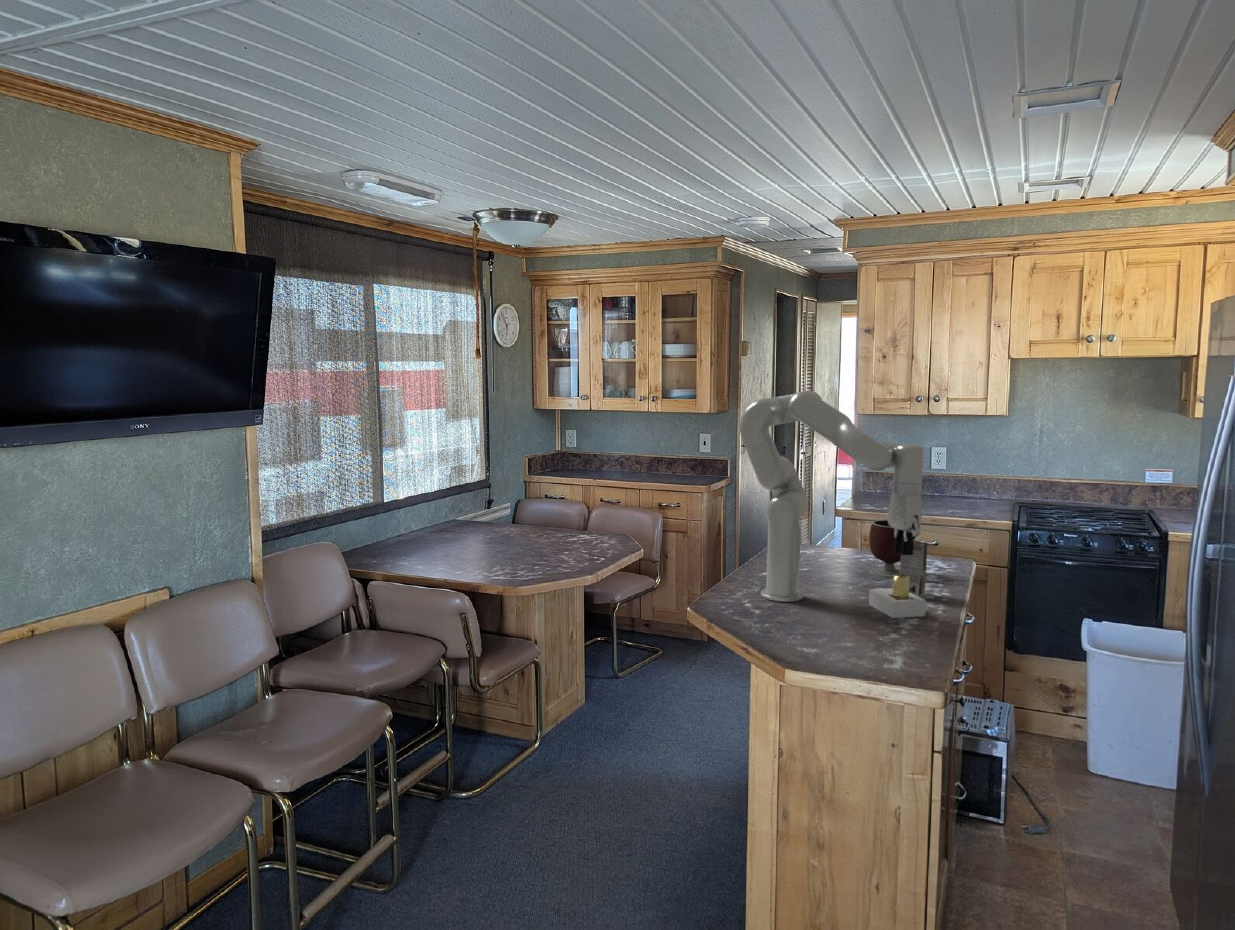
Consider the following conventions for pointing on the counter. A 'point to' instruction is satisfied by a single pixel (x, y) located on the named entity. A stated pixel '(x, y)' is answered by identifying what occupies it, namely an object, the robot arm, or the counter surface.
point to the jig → (896, 604)
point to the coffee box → (915, 568)
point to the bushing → (901, 586)
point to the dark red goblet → (884, 548)
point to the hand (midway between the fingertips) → (903, 552)
